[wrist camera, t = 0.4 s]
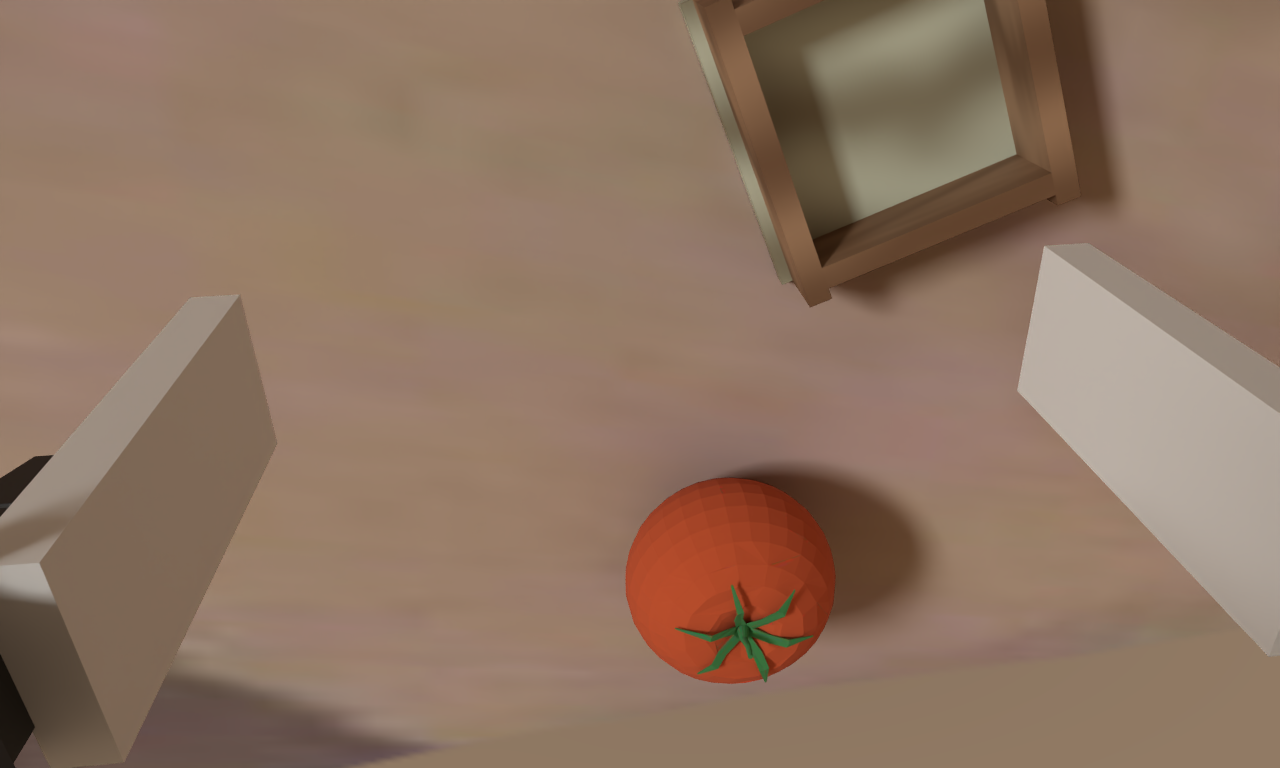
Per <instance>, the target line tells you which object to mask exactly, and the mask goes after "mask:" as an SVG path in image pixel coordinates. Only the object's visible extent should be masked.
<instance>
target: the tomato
mask: <svg viewBox="0 0 1280 768" xmlns="http://www.w3.org/2000/svg"><path fill="white" fill-rule="evenodd" d="M835 578H836V575H835V569H834V562H833V557H832V554H831V550H830V547H829V544H828V542H827V540H826V537H825V535H824V533H823V531H822V530H821V528H820V527H819V525H818V524H817V522H816V521H815V520H814V518H813V517H812V516H811V514H810V513H809V512H808V510H807V509H805V508H804V507H803V506H802V505H800V504H799V503H798V502H797V501H796V500H794V499H793V498H792V497H790V496H789V495H788V494H786V493H785V492H783V491H781V490H779V489H777V488H775V487H773V486H771V485H768V484H765V483H761V482H758V481H754V480H749V479H740V478H716V479H711V480H706V481H702V482H698V483H695V484H693V485H690V486H688V487H686V488H683V489H681V490H680V491H678V492H677V493H675V494H673V495H672V496H670V497H669V498H667V499H666V500H665V501H664V502H663V503H662V504H660V505H659V506H658V507H657V508H656V509H655V510H654V511H653V512H652V513H651V514H650V515H649V516H648V518H647V519H646V520H645V522H644V523H643V524H642V526H641V527H640V529H639V531H638V533H637V536H636V538H635V540H634V542H633V544H632V547H631V549H630V552H629V556H628V561H627V566H626V597H627V600H628V604H629V607H630V611H631V614H632V618H633V621H634V624H635V625H636V627H637V629H638V630H639V632H640V634H641V636H642V637H643V639H644V640H645V642H646V643H647V644H648V646H649V647H650V648H651V649H652V650H653V651H654V652H655V653H656V654H657V655H658V656H659V657H660V658H661V659H662V660H664V661H665V662H666V663H668V664H669V665H671V666H672V667H674V668H675V669H677V670H678V671H680V672H681V673H683V674H686V675H688V676H690V677H693V678H695V679H699V680H703V681H708V682H713V683H728V684H734V683H746V682H751V681H755V680H760V679H764V681H765V682H766V681H767V677H768V676H770V675H772V674H775V673H777V672H779V671H781V670H783V669H784V668H786V667H788V666H790V665H791V664H793V663H794V662H795V661H797V660H798V659H799V658H800V657H802V656H803V655H804V654H805V653H806V652H807V651H808V650H809V649H810V648H811V647H812V646H813V644H814V643H815V642H816V641H817V639H818V637H819V636H820V634H821V632H822V631H823V629H824V627H825V625H826V622H827V620H828V618H829V615H830V612H831V609H832V606H833V601H834V591H835Z"/></svg>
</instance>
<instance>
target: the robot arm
mask: <svg viewBox="0 0 1280 768" xmlns="http://www.w3.org/2000/svg"><path fill="white" fill-rule="evenodd" d="M1017 391H1018V392H1019V393H1020V394H1021V395H1022V396H1023V397H1024V398H1025V399H1026V400H1027V401H1028V402H1029V403H1030V404H1031V405H1032V407H1033V408H1034V409H1035V410H1036V411H1037V412H1038V413H1039V414H1040V415H1041V416H1042V417H1043V418H1044V419H1045V420H1046V421H1047V422H1048V423H1049V425H1050V426H1051V427H1052V428H1053V429H1054V430H1055V431H1056V432H1057V433H1058V434H1059V435H1060V436H1061V437H1062V438H1063V439H1064V440H1065V441H1066V443H1067V444H1068V445H1069V446H1070V447H1071V448H1072V449H1073V450H1074V451H1075V452H1076V453H1077V454H1078V455H1079V456H1080V457H1081V458H1082V459H1083V461H1084V462H1085V463H1086V464H1087V465H1088V466H1089V467H1090V468H1091V469H1092V470H1093V471H1094V472H1095V473H1096V474H1097V475H1098V476H1099V477H1100V479H1101V480H1102V481H1103V482H1104V483H1105V484H1106V485H1107V486H1108V487H1109V488H1110V489H1111V490H1112V491H1113V492H1114V493H1115V494H1116V495H1117V497H1118V498H1119V499H1120V500H1121V501H1122V502H1123V503H1124V504H1125V505H1126V506H1127V507H1128V508H1129V509H1130V510H1131V511H1132V512H1133V513H1134V515H1135V516H1136V517H1137V518H1138V519H1139V520H1140V521H1141V522H1142V523H1143V524H1144V525H1145V526H1146V527H1147V528H1148V529H1149V530H1150V531H1151V533H1152V534H1153V535H1154V536H1155V537H1156V538H1157V539H1158V540H1159V541H1160V542H1161V543H1162V544H1163V545H1164V546H1165V547H1166V548H1167V549H1168V551H1169V552H1170V553H1171V554H1172V555H1173V556H1174V557H1175V558H1176V559H1177V560H1178V561H1179V562H1180V563H1181V564H1182V565H1183V566H1184V567H1185V569H1186V570H1187V571H1188V572H1189V573H1190V574H1191V575H1192V576H1193V577H1194V578H1195V579H1196V580H1197V581H1198V582H1199V583H1200V584H1201V585H1202V586H1203V588H1204V589H1205V590H1206V591H1207V592H1208V593H1209V594H1210V595H1211V596H1212V597H1213V598H1214V599H1215V600H1216V601H1217V602H1218V603H1219V604H1220V606H1221V607H1222V608H1223V609H1224V610H1225V611H1226V612H1227V613H1228V614H1229V615H1230V616H1231V617H1232V618H1233V619H1234V620H1235V621H1236V622H1237V624H1238V625H1239V626H1240V627H1241V628H1242V629H1243V630H1244V631H1245V632H1246V633H1247V634H1248V635H1249V636H1250V637H1251V638H1252V639H1253V640H1254V642H1255V643H1257V645H1258V646H1259V647H1260V648H1261V649H1262V650H1263V651H1264V652H1265V653H1266V654H1267V655H1268V656H1269V657H1270V656H1280V367H1278V366H1277V365H1275V364H1274V363H1272V362H1271V361H1269V360H1267V359H1266V358H1264V357H1263V356H1261V355H1260V354H1258V353H1257V352H1255V351H1254V350H1252V349H1251V348H1249V347H1247V346H1246V345H1244V344H1243V343H1241V342H1240V341H1238V340H1237V339H1235V338H1234V337H1232V336H1231V335H1229V334H1227V333H1226V332H1224V331H1223V330H1221V329H1220V328H1218V327H1217V326H1215V325H1214V324H1212V323H1211V322H1209V321H1207V320H1206V319H1204V318H1203V317H1201V316H1200V315H1198V314H1197V313H1195V312H1194V311H1192V310H1191V309H1189V308H1187V307H1186V306H1184V305H1183V304H1181V303H1180V302H1178V301H1177V300H1175V299H1174V298H1172V297H1171V296H1169V295H1167V294H1166V293H1164V292H1163V291H1161V290H1160V289H1158V288H1157V287H1155V286H1154V285H1152V284H1151V283H1149V282H1147V281H1146V280H1144V279H1143V278H1141V277H1140V276H1138V275H1137V274H1135V273H1134V272H1132V271H1131V270H1129V269H1127V268H1126V267H1124V266H1123V265H1121V264H1120V263H1118V262H1117V261H1115V260H1114V259H1112V258H1111V257H1109V256H1107V255H1106V254H1104V253H1103V252H1101V251H1100V250H1098V249H1097V248H1095V247H1094V246H1092V245H1091V244H1089V243H1083V244H1066V245H1049V246H1044V250H1043V256H1042V261H1041V266H1040V272H1039V277H1038V282H1037V288H1036V293H1035V299H1034V304H1033V309H1032V315H1031V320H1030V325H1029V331H1028V336H1027V342H1026V347H1025V352H1024V358H1023V363H1022V369H1021V374H1020V379H1019V385H1018V390H1017ZM276 445H277V439H276V435H275V431H274V427H273V423H272V419H271V415H270V411H269V407H268V403H267V399H266V395H265V392H264V388H263V384H262V380H261V376H260V372H259V368H258V364H257V360H256V356H255V352H254V348H253V344H252V340H251V336H250V332H249V328H248V324H247V320H246V316H245V312H244V308H243V304H242V300H241V296H240V295H224V296H207V297H191V298H189V300H188V301H187V302H186V303H185V304H184V305H183V307H182V308H181V309H180V310H179V311H178V312H177V313H176V315H175V316H174V317H173V318H172V319H171V320H170V322H169V323H168V324H167V325H166V326H165V327H164V328H163V330H162V331H161V332H160V333H159V334H158V335H157V337H156V338H155V339H154V340H153V341H152V342H151V343H150V345H149V346H148V347H147V348H146V349H145V350H144V352H143V353H142V354H141V355H140V356H139V357H138V358H137V360H136V361H135V362H134V363H133V364H132V365H131V367H130V368H129V369H128V370H127V371H126V372H125V374H124V375H123V376H122V377H121V378H120V379H119V380H118V382H117V383H116V384H115V385H114V386H113V387H112V389H111V390H110V391H109V392H108V393H107V394H106V395H105V397H104V398H103V399H102V400H101V401H100V402H99V404H98V405H97V406H96V407H95V408H94V409H93V410H92V412H91V413H90V414H89V415H88V416H87V417H86V419H85V420H84V421H83V422H82V423H81V424H80V425H79V427H78V428H77V429H76V430H75V431H74V432H73V434H72V435H71V436H70V437H69V438H68V439H67V441H66V442H65V443H64V444H63V445H62V446H61V447H60V449H59V450H58V451H57V452H56V453H55V454H54V455H49V456H35V457H33V458H32V459H30V460H28V461H27V462H25V463H24V464H22V465H21V466H19V467H17V468H16V469H14V470H13V471H11V472H9V473H8V474H6V475H5V476H3V477H2V478H0V768H15V766H14V764H13V763H14V761H15V760H16V758H17V756H18V755H19V753H20V751H21V750H22V748H23V746H24V745H25V743H26V741H27V740H28V738H29V737H30V735H31V733H32V732H33V733H34V735H35V737H36V739H37V741H38V743H39V746H40V748H41V750H42V752H43V754H44V756H45V758H46V760H47V762H48V764H49V766H50V768H72V767H83V766H93V765H104V764H115V763H124V761H125V759H126V757H127V755H128V753H129V751H130V749H131V747H132V745H133V743H134V741H135V739H136V736H137V734H138V732H139V730H140V728H141V726H142V724H143V722H144V720H145V718H146V716H147V714H148V712H149V709H150V707H151V705H152V703H153V701H154V699H155V697H156V695H157V693H158V691H159V689H160V687H161V684H162V682H163V680H164V678H165V676H166V674H167V672H168V670H169V668H170V666H171V664H172V662H173V660H174V657H175V655H176V653H177V651H178V649H179V647H180V645H181V643H182V641H183V639H184V637H185V635H186V632H187V630H188V628H189V626H190V624H191V622H192V620H193V618H194V616H195V614H196V612H197V610H198V607H199V605H200V603H201V601H202V599H203V597H204V595H205V593H206V591H207V589H208V587H209V585H210V583H211V580H212V578H213V576H214V574H215V572H216V570H217V568H218V566H219V564H220V562H221V560H222V558H223V555H224V553H225V551H226V549H227V547H228V545H229V543H230V541H231V539H232V537H233V535H234V533H235V531H236V528H237V526H238V524H239V522H240V520H241V518H242V516H243V514H244V512H245V510H246V508H247V506H248V503H249V501H250V499H251V497H252V495H253V493H254V491H255V489H256V487H257V485H258V483H259V481H260V479H261V476H262V474H263V472H264V470H265V468H266V466H267V464H268V462H269V460H270V458H271V456H272V454H273V451H274V449H275V447H276Z"/></svg>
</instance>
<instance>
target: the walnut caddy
mask: <svg viewBox="0 0 1280 768" xmlns="http://www.w3.org/2000/svg"><path fill="white" fill-rule="evenodd" d="M678 4H679V7H680V10H681V12H682V15H683V18H684V21H685V23H686V26H687V29H688V32H689V34H690V37H691V40H692V43H693V45H694V48H695V51H696V54H697V56H698V59H699V62H700V65H701V67H702V70H703V73H704V76H705V78H706V81H707V84H708V87H709V89H710V92H711V95H712V97H713V100H714V103H715V106H716V108H717V111H718V114H719V117H720V119H721V122H722V125H723V128H724V130H725V133H726V136H727V139H728V141H729V144H730V147H731V150H732V152H733V155H734V158H735V161H736V163H737V166H738V169H739V172H740V174H741V177H742V180H743V182H744V185H745V188H746V191H747V193H748V196H749V199H750V202H751V204H752V207H753V210H754V213H755V215H756V218H757V221H758V224H759V226H760V229H761V232H762V235H763V237H764V240H765V243H766V246H767V248H768V251H769V254H770V257H771V259H772V262H773V265H774V268H775V270H776V273H777V276H778V278H779V280H780V282H781V283H782V285H783V284H786V283H788V282H790V281H793V282H794V284H795V285H796V287H797V288H798V290H799V291H800V293H801V294H802V296H803V297H804V299H805V300H806V302H807V303H808V305H809V306H810V307H812V306H815V305H817V304H820V303H822V302H825V301H827V300H830V299H832V297H831V294H830V291H829V288H831V287H834V286H836V285H838V284H841V283H843V282H846V281H848V280H851V279H853V278H855V277H858V276H860V275H863V274H865V273H868V272H870V271H872V270H875V269H877V268H880V267H882V266H885V265H887V264H889V263H892V262H894V261H897V260H899V259H902V258H904V257H906V256H909V255H911V254H914V253H916V252H918V251H921V250H923V249H926V248H928V247H931V246H933V245H935V244H938V243H940V242H943V241H945V240H948V239H950V238H952V237H955V236H957V235H960V234H962V233H965V232H967V231H969V230H972V229H974V228H977V227H979V226H982V225H984V224H986V223H989V222H991V221H994V220H996V219H999V218H1001V217H1003V216H1006V215H1008V214H1011V213H1013V212H1016V211H1018V210H1020V209H1023V208H1025V207H1028V206H1030V205H1033V204H1035V203H1037V202H1040V201H1042V200H1045V199H1048V200H1049V201H1051V202H1053V203H1054V204H1056V205H1061V204H1063V203H1066V202H1068V201H1071V200H1073V199H1075V198H1078V197H1080V196H1081V192H1080V186H1079V181H1078V176H1077V170H1076V165H1075V159H1074V154H1073V148H1072V143H1071V137H1070V132H1069V126H1068V121H1067V115H1066V110H1065V104H1064V99H1063V93H1062V88H1061V82H1060V77H1059V71H1058V66H1057V60H1056V55H1055V49H1054V44H1053V38H1052V33H1051V28H1050V22H1049V17H1048V11H1047V6H1046V0H683V1H681V2H679V3H678Z"/></svg>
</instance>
